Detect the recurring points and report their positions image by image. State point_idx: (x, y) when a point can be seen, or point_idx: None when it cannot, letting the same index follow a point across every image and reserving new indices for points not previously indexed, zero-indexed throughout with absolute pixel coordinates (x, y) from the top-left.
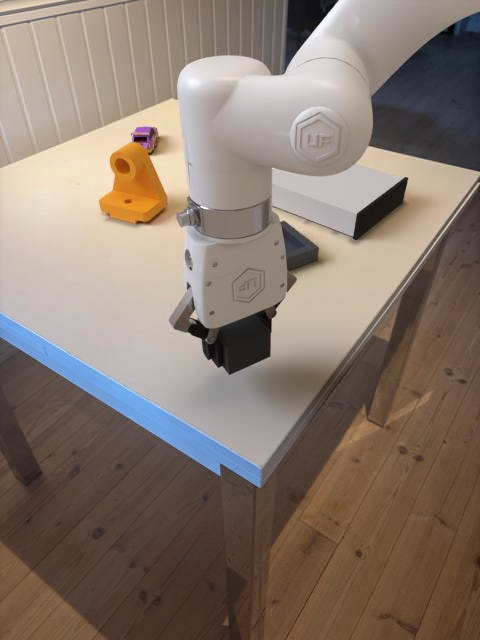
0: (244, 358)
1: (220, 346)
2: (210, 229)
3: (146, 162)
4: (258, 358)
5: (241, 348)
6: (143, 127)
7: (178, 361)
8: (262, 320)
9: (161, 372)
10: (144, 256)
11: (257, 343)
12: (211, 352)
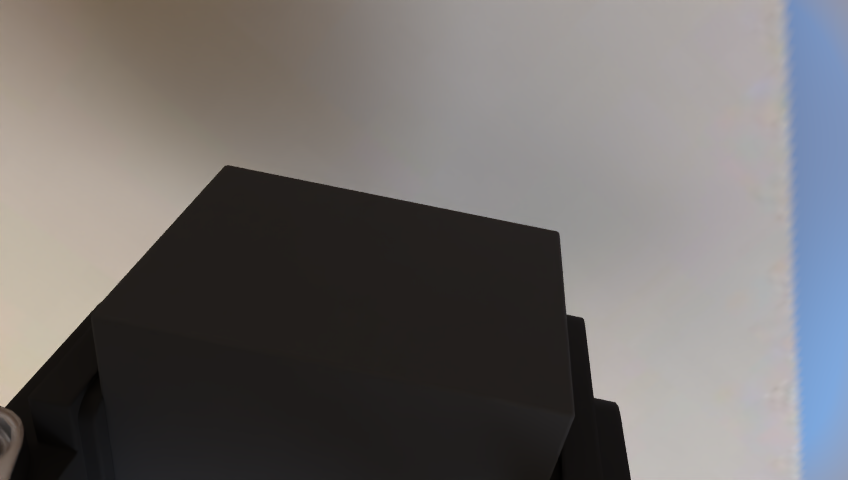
0: (422, 259)
1: (570, 466)
2: None
3: None
4: (314, 201)
5: (431, 344)
6: None
7: None
8: (92, 439)
9: (646, 441)
10: None
11: (271, 294)
12: (601, 447)
